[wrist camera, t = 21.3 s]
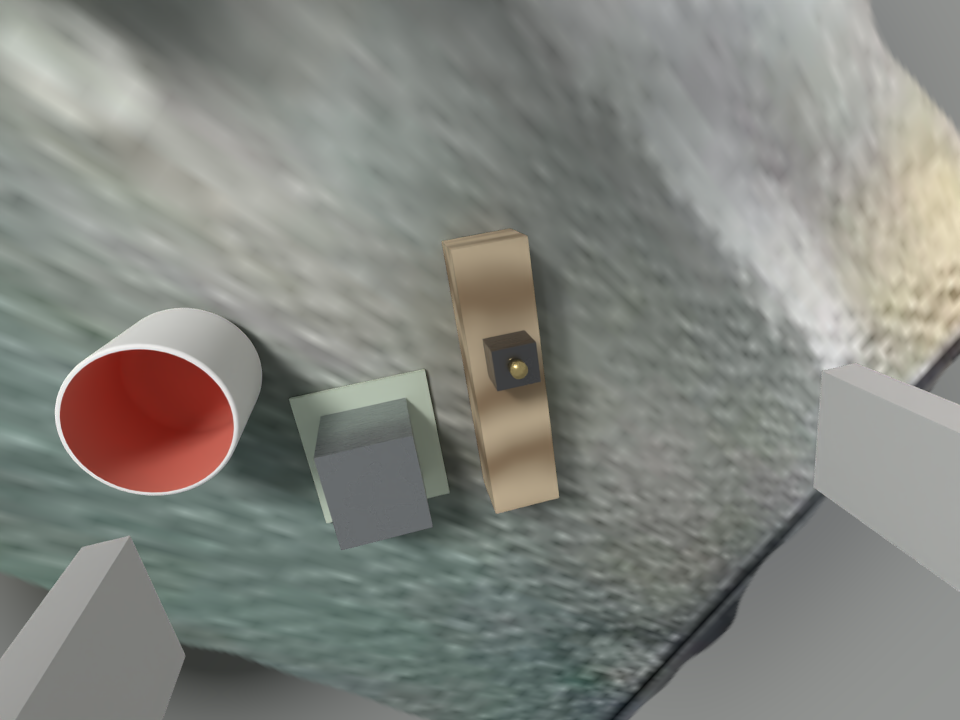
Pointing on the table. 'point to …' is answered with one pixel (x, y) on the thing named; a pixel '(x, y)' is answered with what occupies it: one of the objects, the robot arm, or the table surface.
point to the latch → (512, 360)
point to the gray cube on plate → (371, 473)
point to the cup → (161, 402)
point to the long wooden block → (496, 414)
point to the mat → (372, 393)
